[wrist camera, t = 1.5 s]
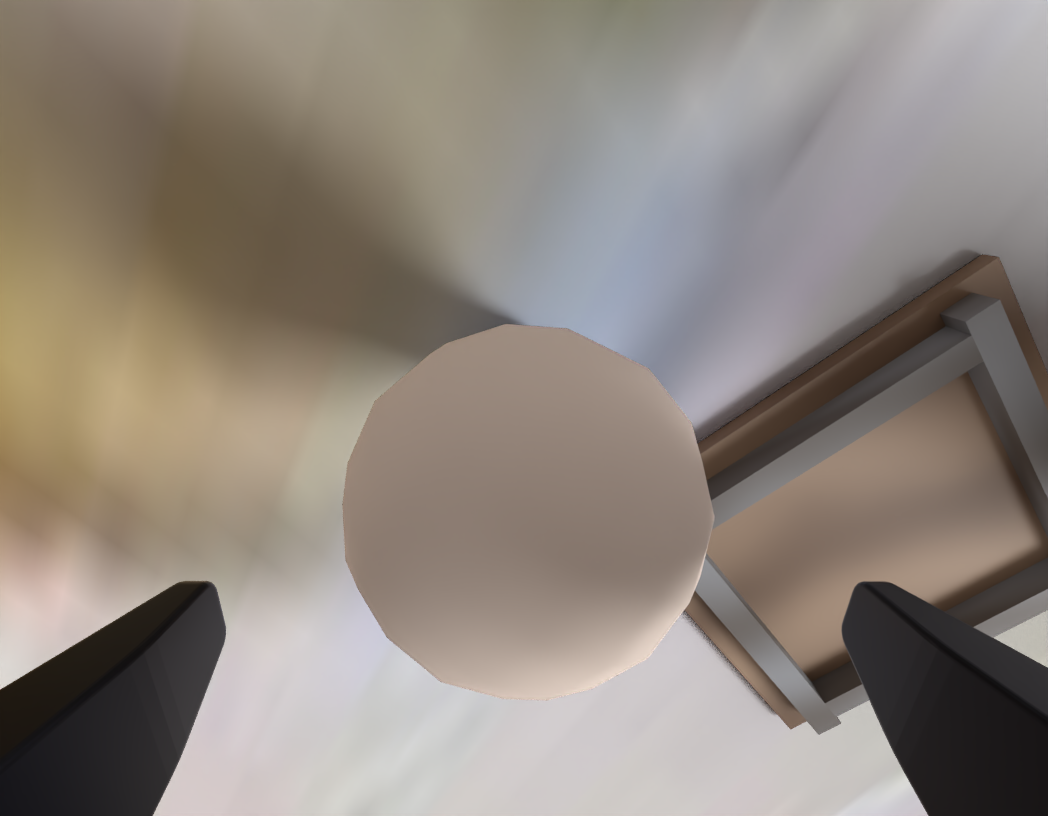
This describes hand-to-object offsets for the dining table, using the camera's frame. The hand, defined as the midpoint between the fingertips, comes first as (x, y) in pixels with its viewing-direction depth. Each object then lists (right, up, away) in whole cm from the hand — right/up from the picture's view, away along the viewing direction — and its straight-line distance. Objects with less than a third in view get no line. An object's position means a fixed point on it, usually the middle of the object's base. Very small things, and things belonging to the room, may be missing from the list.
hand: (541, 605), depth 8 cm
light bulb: (-1, +4, +10) cm, 11 cm away
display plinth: (+12, -2, +12) cm, 18 cm away
